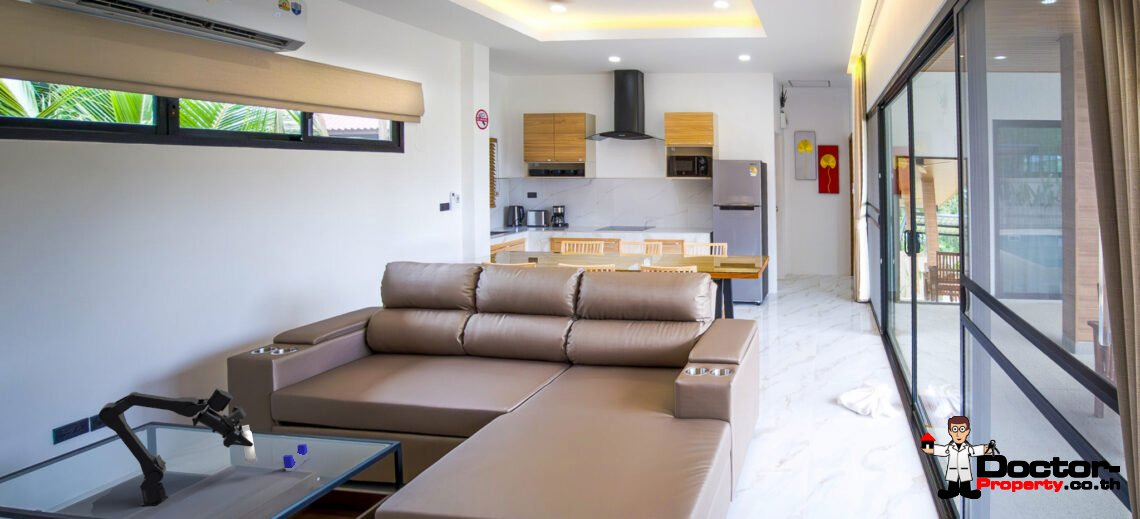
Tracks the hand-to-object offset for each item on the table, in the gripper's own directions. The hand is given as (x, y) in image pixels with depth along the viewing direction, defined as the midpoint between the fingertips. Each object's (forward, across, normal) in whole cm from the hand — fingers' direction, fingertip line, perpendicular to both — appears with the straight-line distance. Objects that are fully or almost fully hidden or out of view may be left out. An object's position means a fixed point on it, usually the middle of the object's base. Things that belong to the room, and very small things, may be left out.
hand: (252, 443), depth 286 cm
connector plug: (+4, 0, +6) cm, 7 cm away
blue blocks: (+19, +6, 0) cm, 20 cm away
